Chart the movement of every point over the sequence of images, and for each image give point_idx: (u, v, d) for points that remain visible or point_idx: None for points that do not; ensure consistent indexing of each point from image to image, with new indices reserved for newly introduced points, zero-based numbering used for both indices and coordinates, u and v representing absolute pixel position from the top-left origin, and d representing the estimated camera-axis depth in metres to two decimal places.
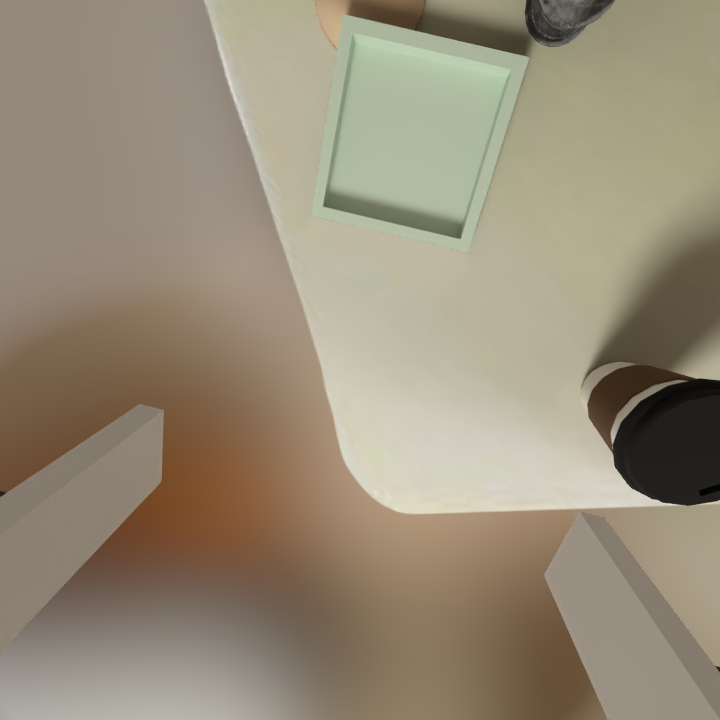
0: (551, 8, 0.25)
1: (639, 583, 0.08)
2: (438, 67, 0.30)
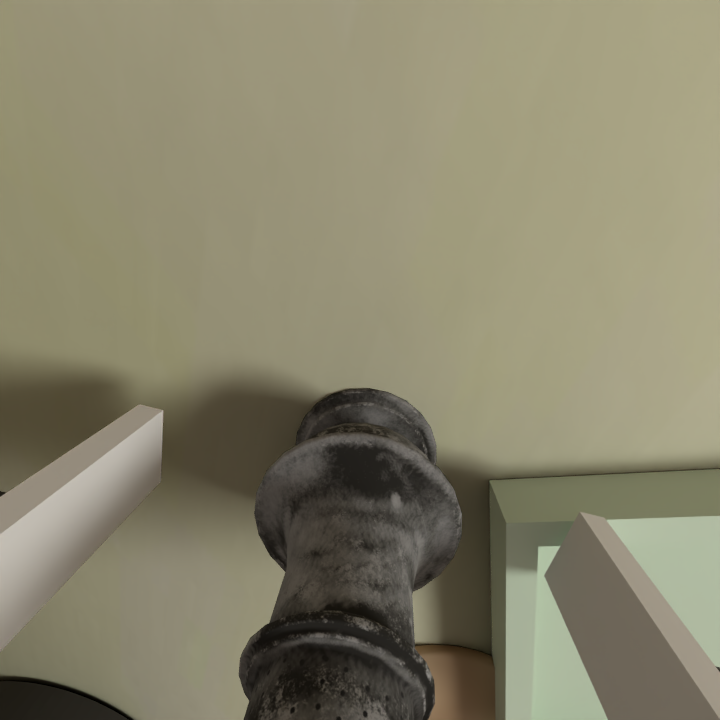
0: (437, 563, 0.10)
1: (639, 583, 0.08)
2: None
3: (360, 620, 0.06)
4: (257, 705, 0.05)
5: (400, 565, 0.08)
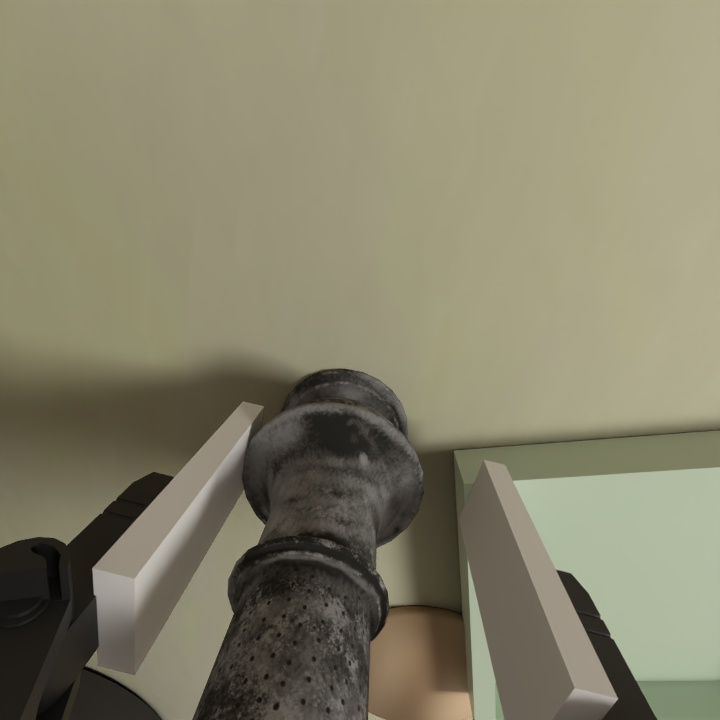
0: (403, 518, 0.11)
1: (513, 509, 0.10)
2: None
3: (325, 540, 0.07)
4: (241, 605, 0.07)
5: (365, 510, 0.09)
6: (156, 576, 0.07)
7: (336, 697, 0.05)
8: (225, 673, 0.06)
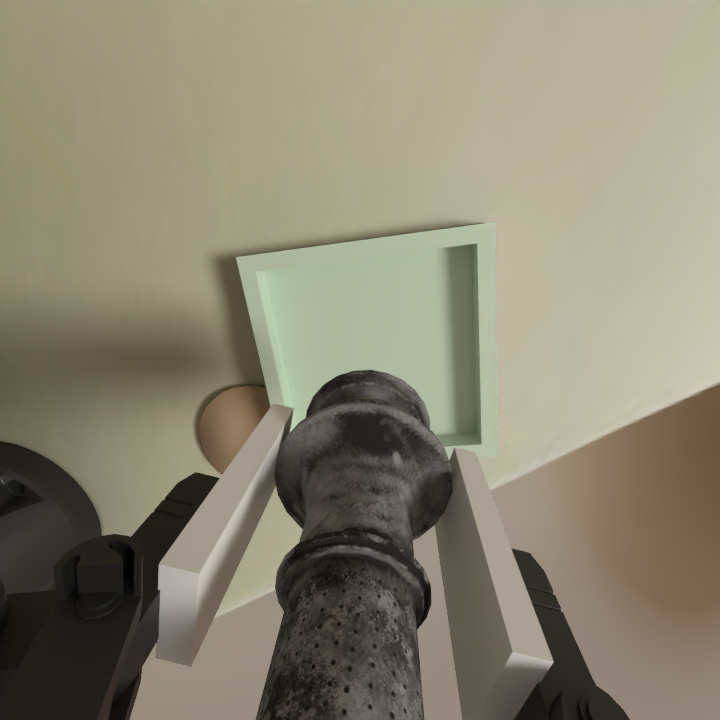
0: (432, 515, 0.12)
1: (477, 492, 0.10)
2: (286, 353, 0.25)
3: (372, 535, 0.07)
4: (295, 597, 0.07)
5: (401, 506, 0.09)
6: (212, 572, 0.07)
7: (398, 682, 0.06)
8: (291, 660, 0.06)
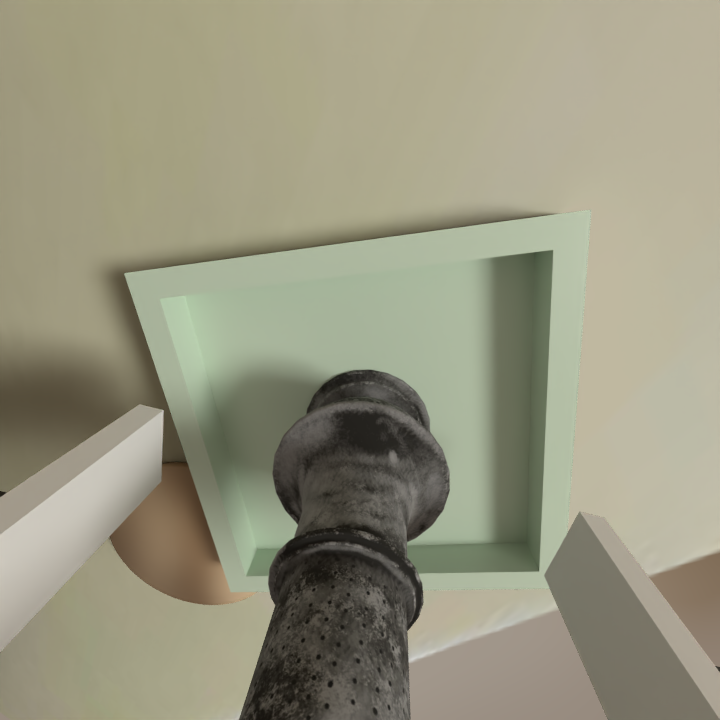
0: (429, 515, 0.12)
1: (639, 583, 0.08)
2: (228, 421, 0.16)
3: (364, 532, 0.08)
4: (286, 592, 0.07)
5: (396, 505, 0.09)
6: None
7: (383, 679, 0.06)
8: (278, 653, 0.06)
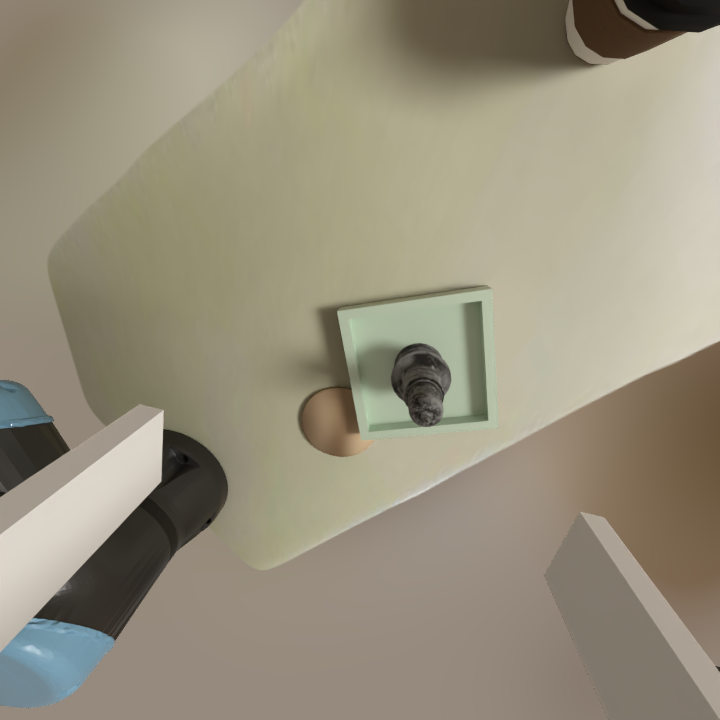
0: (444, 389, 0.35)
1: (639, 583, 0.08)
2: (362, 366, 0.39)
3: (429, 377, 0.31)
4: (412, 389, 0.30)
5: (435, 378, 0.33)
6: None
7: (437, 396, 0.29)
8: (415, 393, 0.29)
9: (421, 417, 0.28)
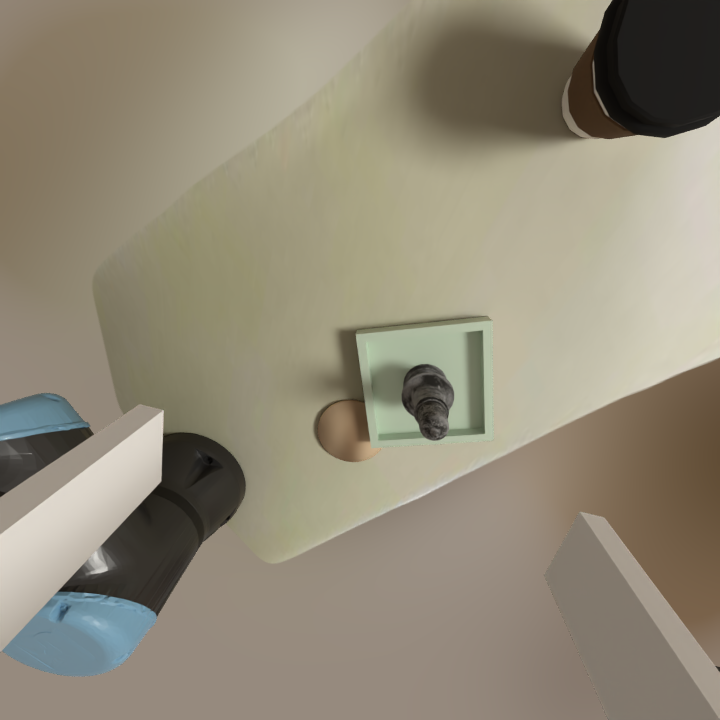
0: (448, 406, 0.40)
1: (639, 583, 0.08)
2: (375, 382, 0.44)
3: (436, 397, 0.36)
4: (421, 407, 0.35)
5: (441, 397, 0.38)
6: None
7: (444, 414, 0.34)
8: (425, 411, 0.34)
9: (430, 432, 0.33)
